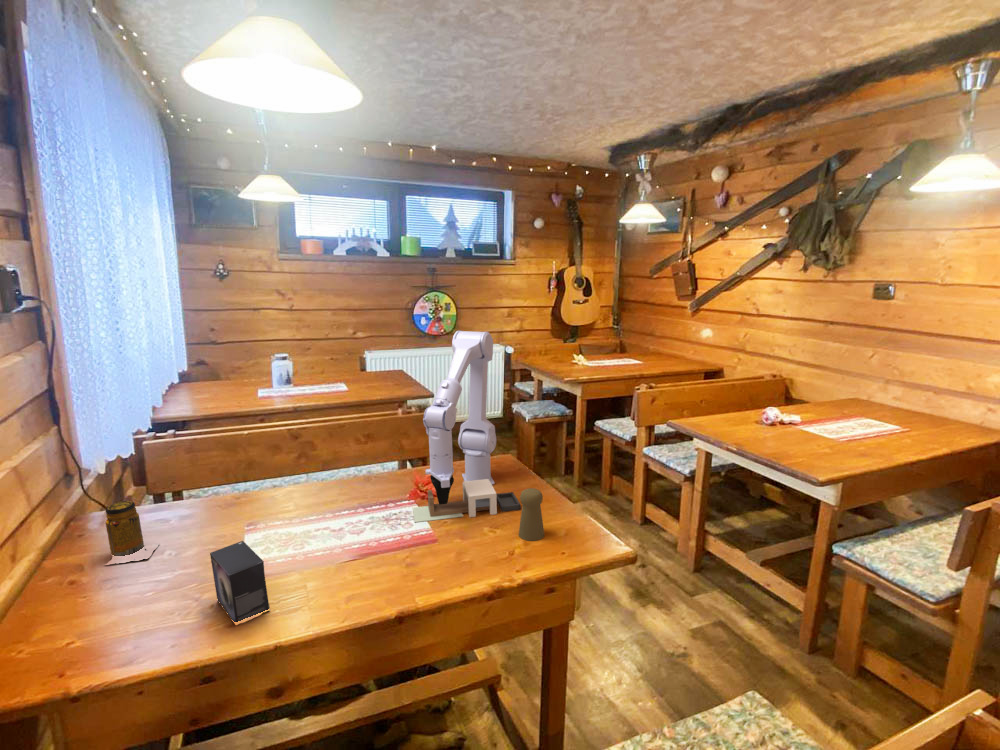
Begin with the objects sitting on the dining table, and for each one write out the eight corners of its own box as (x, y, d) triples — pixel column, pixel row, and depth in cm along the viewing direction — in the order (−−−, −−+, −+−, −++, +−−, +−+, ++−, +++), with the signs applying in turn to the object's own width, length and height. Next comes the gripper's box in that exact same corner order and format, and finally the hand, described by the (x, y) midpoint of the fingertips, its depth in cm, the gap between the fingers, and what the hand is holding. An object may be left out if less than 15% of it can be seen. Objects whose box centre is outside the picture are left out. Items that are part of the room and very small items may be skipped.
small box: (214, 602, 102) (207, 551, 100) (249, 587, 107) (243, 539, 104) (234, 628, 95) (227, 574, 93) (271, 611, 99) (265, 559, 97)
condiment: (118, 549, 122) (109, 500, 119) (160, 544, 124) (152, 495, 121) (103, 567, 115) (94, 515, 112) (148, 561, 117) (139, 510, 114)
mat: (412, 508, 140) (412, 507, 140) (458, 503, 142) (458, 502, 142) (414, 522, 132) (414, 521, 132) (463, 516, 135) (463, 515, 135)
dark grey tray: (494, 498, 144) (494, 494, 144) (512, 496, 146) (512, 492, 145) (501, 512, 137) (501, 506, 137) (520, 509, 138) (520, 504, 138)
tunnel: (463, 501, 143) (462, 481, 142) (488, 498, 145) (488, 478, 144) (469, 517, 134) (468, 496, 133) (496, 514, 136) (496, 493, 135)
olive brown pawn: (545, 541, 122) (545, 496, 120) (518, 541, 122) (518, 496, 120) (543, 528, 128) (543, 485, 126) (518, 528, 128) (518, 485, 126)
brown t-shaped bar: (428, 508, 139) (427, 490, 138) (492, 500, 143) (492, 483, 142) (430, 516, 134) (429, 498, 133) (496, 508, 138) (496, 490, 137)
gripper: (422, 444, 140) (424, 493, 143) (427, 464, 126) (430, 517, 129) (449, 442, 142) (450, 490, 145) (457, 461, 128) (459, 514, 131)
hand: (442, 503), depth 137 cm, fingers closed
